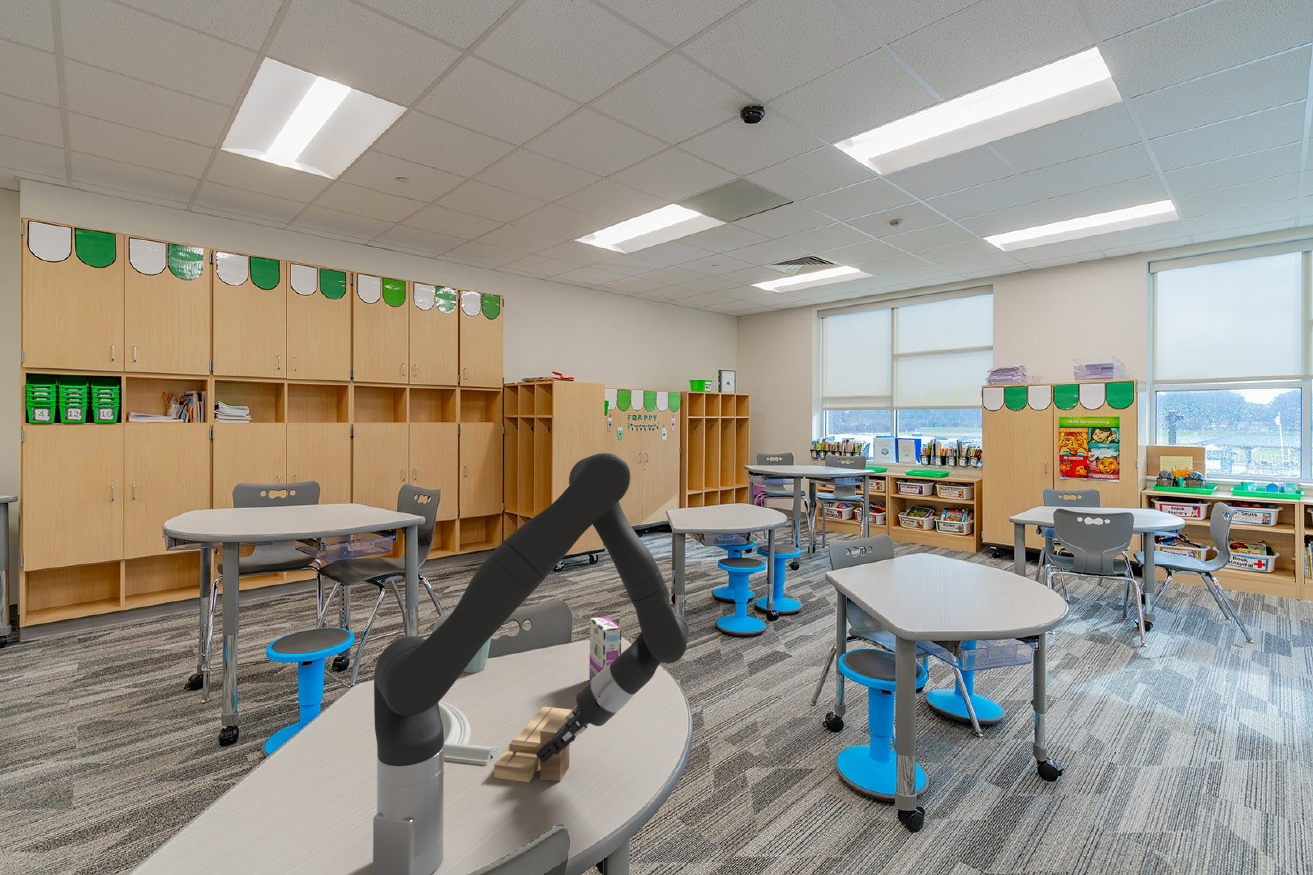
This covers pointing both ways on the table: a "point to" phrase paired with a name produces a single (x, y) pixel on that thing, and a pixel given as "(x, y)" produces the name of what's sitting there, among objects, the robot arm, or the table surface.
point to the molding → (461, 738)
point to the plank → (524, 763)
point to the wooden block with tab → (556, 763)
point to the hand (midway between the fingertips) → (545, 749)
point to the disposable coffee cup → (479, 659)
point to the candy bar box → (603, 644)
